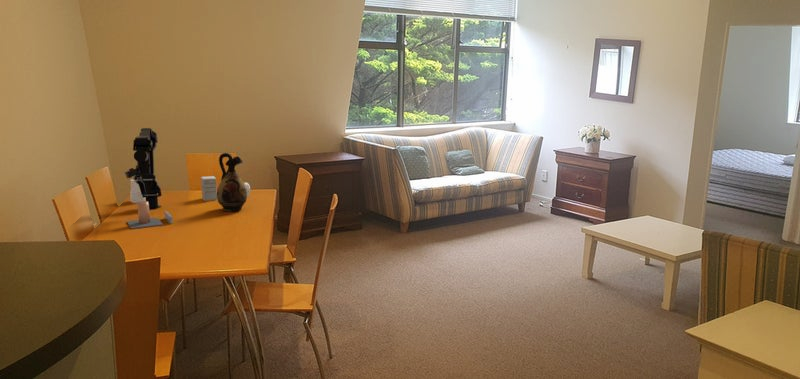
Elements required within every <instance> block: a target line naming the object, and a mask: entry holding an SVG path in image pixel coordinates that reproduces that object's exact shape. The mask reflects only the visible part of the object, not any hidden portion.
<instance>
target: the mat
mask: <svg viewBox="0 0 800 379" xmlns="http://www.w3.org/2000/svg"><path fill="white" fill-rule="evenodd" d="M127 223H128V224H127ZM126 224H127V225H128V227H129V228H130V230H136V229H145V227H146V228H153V226H154V227H159V226H161V227H162V226H164V224H163V222H162V221H161V220H160V219H159V217H150V223H147V224H139V219H133V220H127V221H126Z"/></svg>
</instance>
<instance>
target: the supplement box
mask: <svg viewBox="0 0 800 379" xmlns="http://www.w3.org/2000/svg"><path fill="white" fill-rule="evenodd" d="M200 179H201V181H200V183H201V196H202V197H201V198H202V199H203V201H204V202H209V201H218V200H217V189H218V187H217V178H216V177H215V176H214V175H209V176H208V175H207V176H200Z"/></svg>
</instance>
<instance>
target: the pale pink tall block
mask: <svg viewBox="0 0 800 379" xmlns="http://www.w3.org/2000/svg"><path fill="white" fill-rule="evenodd" d="M136 205H137V216H138V220H139V224H147V223H150V218H151V215H150V214H151V213H150V209H149V202H148V201H140V202H137V203H136Z"/></svg>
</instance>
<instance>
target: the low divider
mask: <svg viewBox="0 0 800 379" xmlns="http://www.w3.org/2000/svg"><path fill="white" fill-rule="evenodd" d="M164 219H165V220H166V221H167V222H168V223H169V224H170V225H171V224H173V217H172V215H171V214H170V213H169V212H168V211H166V210H165V211H164Z"/></svg>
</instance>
